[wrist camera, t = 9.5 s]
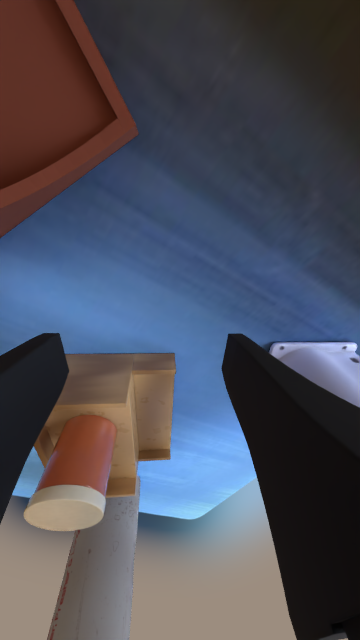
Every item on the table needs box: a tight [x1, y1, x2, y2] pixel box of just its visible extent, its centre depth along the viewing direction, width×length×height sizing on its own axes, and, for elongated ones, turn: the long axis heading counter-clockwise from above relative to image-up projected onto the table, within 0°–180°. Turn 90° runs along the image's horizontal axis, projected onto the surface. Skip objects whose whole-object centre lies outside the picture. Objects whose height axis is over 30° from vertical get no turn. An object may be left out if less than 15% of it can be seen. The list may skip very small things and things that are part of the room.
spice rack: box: [34, 353, 176, 498], centre depth 22 cm, size 12×15×6 cm
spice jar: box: [24, 415, 117, 531], centre depth 16 cm, size 5×5×6 cm
